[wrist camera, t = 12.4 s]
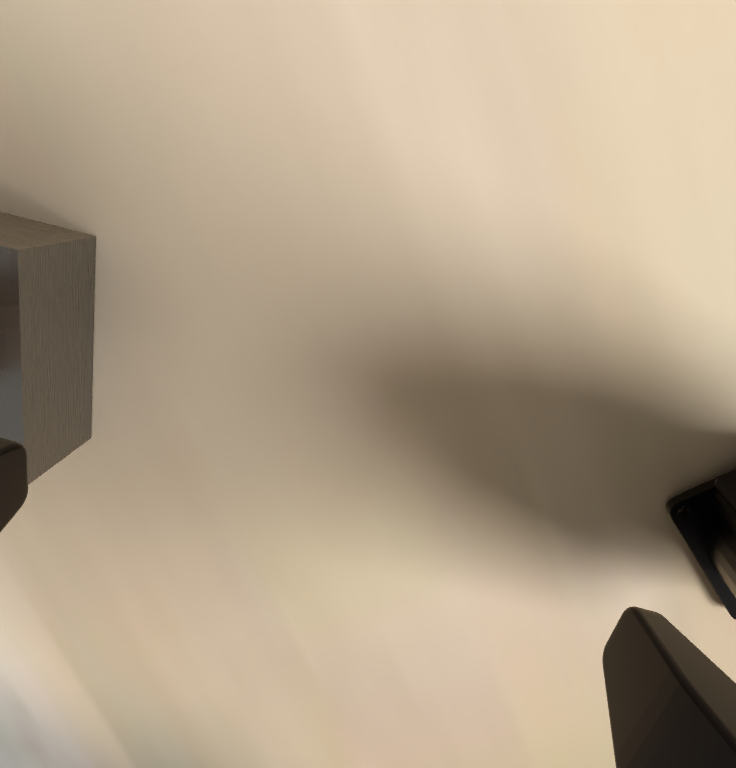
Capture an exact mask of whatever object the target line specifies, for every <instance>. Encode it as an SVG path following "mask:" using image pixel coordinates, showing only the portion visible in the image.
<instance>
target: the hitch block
mask: <svg viewBox="0 0 736 768" xmlns="http://www.w3.org/2000/svg"><path fill="white" fill-rule="evenodd" d="M95 248H96V236H92V235H88V234H84V233H80V232H76V231H72V230H68V229H64V228H60V227H56V226H52V225H48V224H44V223H40V222H36V221H32V220H28V219H24V218H20V217H16V216H12V215H8V214H5V213H1V212H0V438H3V439H7V440H11V441H15V442H18V443H21V444H22V445H23V446H24V447H25V449H26V451H27V472H28V485H29V484H30V483H31V482H33V481H34V480H35V479H37V478H38V477H39V476H41V475H42V474H43V473H45V472H46V471H47V470H49V469H50V468H51V467H53V466H54V465H55V464H57V463H58V462H59V461H61V460H62V459H63V458H65V457H66V456H67V455H69V454H70V453H71V452H73V451H74V450H75V449H77V448H78V447H79V446H81V445H82V444H83V443H85V442H86V441H87V440H89V439H90V438H91V419H92V377H93V334H94V291H95Z"/></svg>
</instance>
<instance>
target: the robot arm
mask: <svg viewBox="0 0 736 768" xmlns="http://www.w3.org/2000/svg"><path fill="white" fill-rule="evenodd" d="M27 492H28V472H27V451H26V449H25V447H24V446H23V445H22V444H21V443H18V442H15V441H11V440H7V439H3V438H0V532H1V531H2V530H3V528H4V527H5V526H6V525H7V524H8V522H9V521H10V520H11V519H12V518H13V516H14V515H15V514H16V513H17V511H18V510H19V509H20V508H21V506H22V505H23V503H24V501H25V499H26V497H27ZM684 506H685V507H686V509H685V510H684V511H681V512H677V511H678V509H679V508H681V507H684ZM666 509H667V512H668V514H669V515H670V517H671V519H672V520H673V522H674V524H675V525H676V527H677V529H678V530H679V532H680V534H681V535H682V537H683V539H684V540H685V542H686V543H687V545H688V547H689V548H690V550H691V552H692V553H693V555H694V557H695V558H696V560H697V562H698V563H699V565H700V566H701V568H702V570H703V571H704V573H705V575H706V576H707V578H708V580H709V581H710V583H711V585H712V586H713V588H714V589H715V591H716V593H717V594H718V596H719V598H720V599H721V601H722V603H723V604H724V606H725V608H726V609H727V611H728V612H729V614H730V615H731V616H732V617H733V618H734V619H736V470H733V471H731V472H729V473H727V474H724V475H722V476H720V477H718V478H715V479H713V480H711V481H708V482H706V483H704V484H702V485H699V486H697V487H695V488H693V489H690V490H688V491H686V492H684V493H681V494H679V495H677V496H675V497H673V498H671V499H670V500H669V501H668V503H667V505H666ZM603 670H604V678H605V685H606V693H607V701H608V709H609V716H610V724H611V732H612V739H613V747H614V755H615V762H616V768H736V683H735V682H734V681H732V680H731V679H730V678H729V677H728V676H727V675H726V674H725V673H724V672H723V671H722V670H721V669H720V668H718V667H717V666H716V665H715V664H714V663H713V662H712V661H711V660H710V659H709V658H708V657H707V656H706V655H704V654H703V653H702V652H701V651H700V650H699V649H698V648H697V647H696V646H695V645H694V644H693V643H692V642H690V641H689V640H688V639H687V638H686V637H685V636H684V635H683V634H682V633H681V632H680V631H679V630H678V629H676V628H675V627H674V626H673V625H672V624H671V623H670V622H669V621H668V620H667V619H666V618H665V617H663V616H662V615H661V614H659V613H657V612H653V611H650V610H646V609H642V608H638V607H629V608H627V609H626V610H625V611H624V612H623V614H622V616H621V618H620V619H619V621H618V623H617V625H616V627H615V629H614V630H613V632H612V634H611V636H610V638H609V640H608V642H607V643H606V646H605V648H604V652H603Z"/></svg>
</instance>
